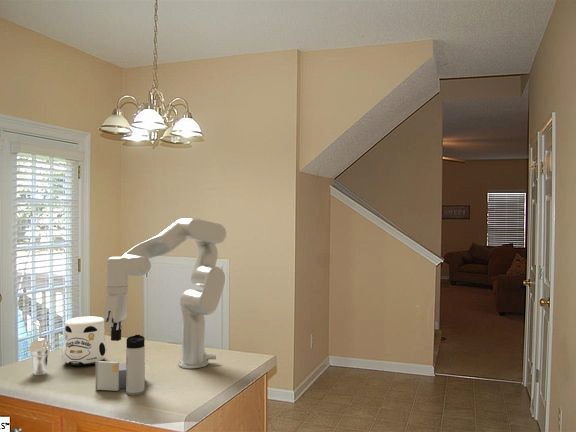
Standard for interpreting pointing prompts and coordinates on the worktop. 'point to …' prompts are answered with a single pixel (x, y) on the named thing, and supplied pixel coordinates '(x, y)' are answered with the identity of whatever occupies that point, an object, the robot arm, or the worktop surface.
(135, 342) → the travel mug
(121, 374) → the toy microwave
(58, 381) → the worktop surface
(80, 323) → the milk container
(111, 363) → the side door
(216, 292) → the robot arm
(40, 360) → the cup with straw
